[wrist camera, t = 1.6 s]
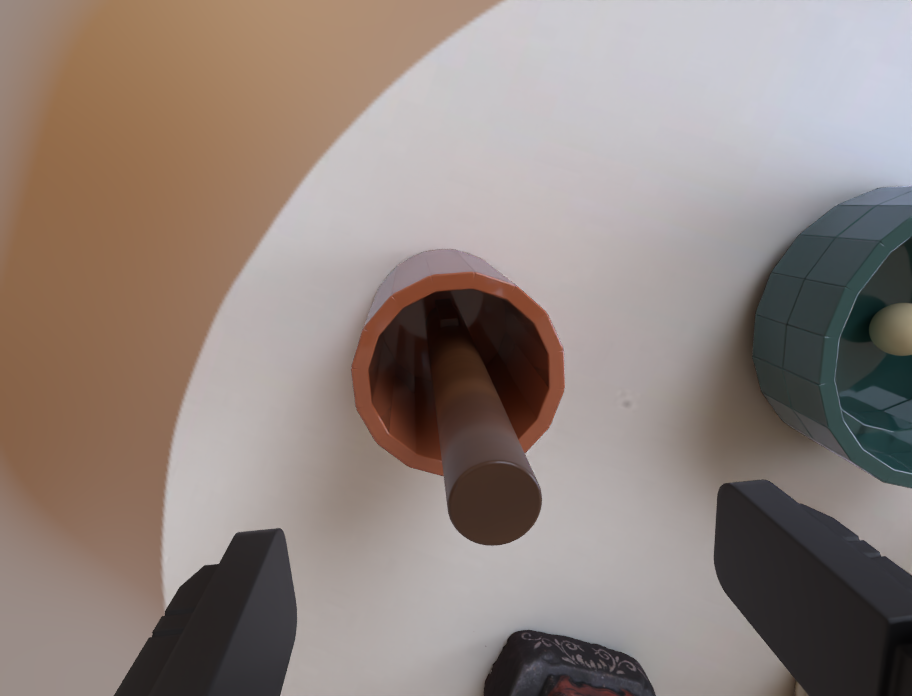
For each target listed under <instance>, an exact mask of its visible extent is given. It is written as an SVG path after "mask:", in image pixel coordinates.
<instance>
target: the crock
mask: <svg viewBox="0 0 912 696" xmlns="http://www.w3.org/2000/svg"><path fill="white" fill-rule="evenodd" d="M438 299H451V302H452V304H453V307H455V308H456V309H457V310H458V311H459V312H460V313H461V315H462V317H463V319H464V321H465V323H466V326H467V328H468V330H469V332H470V334H471V336H472V339H473V341H474V343H475V345H476V347H477V350H478V352H479V354H480V356H481V358H482V361H483V363H484V365H485V367H486V369H487V372H488V374H489V376H490V378H491V380H492V383H493V385H494V387H495V389H496V391H497V394H498V396H499V398H500V400H501V402H502V405H503V407H504V409H505V411H506V413H507V416H508V418H509V420H510V422H511V424H512V427H513V429H514V431H515V433H516V435H517V438H518V440H519V442H520V444H521V446H522V449H523V451H524V453H526V452H527V451H528V450H529V449H530V447H531V446H532V445H533V444H534V443H535V442H536V441H537V440H538V439H539V438H540V437H541V436H542V435H543V434H544V433H545V432H546V430H547V429H548V428H549V427H550V425H551V423H552V420H553V418H554V415H555V413H556V410H557V408H558V405H559V403H560V400H561V397H562V395H563V392H564V388H565V374H564V350H563V346H562V344H561V342H560V339H559V337H558V335H557V333H556V331H555V329H554V326H553V324H552V322H551V320H550V318H549V315H548V314H547V313H546V311H545V310H544V309H543V308H541V307H540V306H539V305H538V304H537V303H536V302H535V301H534V300H533V299H531V298H530V297H529V296H528V295H527V294H526V293H525V292H524V291H522V290H521V289H520V288H519V287H518V286H517V285H515V284H514V283H513V282H512V281H510V280H509V279H508V278H506V277H505V276H504V275H503V274H501V273H500V272H499V271H497V270H496V269H495V268H494V267H492V266H491V265H490V264H488V263H487V262H486V261H485V260H483V259H481V258H479V257H476V256H474V255H471V254H469V253H466V252H462V251H458V250H454V249H438V250H431V251H425V252H422V253H419V254H417V255H415V256H412V257H410V258H409V259H407V260H405V261H404V262H402V263H400V264H399V265H397V266H396V267H395V268H394V270H393V271H392V272H391V273H390V274H389V275H388V276H387V277H386V279H385V280H384V282H383V283H382V284H381V285H380V286H379V288H378V290H377V293H376V295H375V298H374V301H373V303H372V306H371V309H370V311H369V314H368V317H367V319H366V322H365V324H364V327H363V330H362V333H361V336H360V340H359V343H358V346H357V350H356V353H355V356H354V359H353V363H352V369H351V373H352V381H353V389H354V397H355V406H356V408H357V411H358V413H359V415H360V416H361V418H362V420H363V421H364V423H365V425H366V426H367V428H368V430H369V431H370V433H371V435H372V437H373V438H374V440H375V441H376V442H377V444H378V445H380V446H381V447H382V448H384V449H385V450H386V451H388V452H389V453H390V454H392V455H393V456H394V457H396V458H397V459H398V460H400V461H401V462H403V463H404V464H405V465H407V466H409V467H411V468H414V469H418V470H422V471H426V472H429V473H433V474H437V475H441V476H444V474H443V466H442V458H441V449H440V441H439V433H438V425H437V416H436V408H435V400H434V392H433V383H432V375H431V367H430V359H429V350H428V342H427V334H426V325H425V322H426V318H427V315H428V314H429V312H430V311H431V310H432V309H433V308H435V307H436V306H435V300H438Z"/></svg>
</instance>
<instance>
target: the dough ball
mask: <svg viewBox="0 0 912 696" xmlns="http://www.w3.org/2000/svg"><path fill="white" fill-rule="evenodd" d="M869 335H870V338H871V340H872V342H873V343H874V344H875V345H876V346H877V347H878V348H879V349H880V350H882V351H884V352H886V353H888V354H892V355H897V356H908V355H912V304H911V303H896V304H892V305H889V306H886V307H884V308H883V309H881V310H880V311H878V312H877V313H876V314H875V315H874V317H873V318H872V320H871V322H870V325H869Z"/></svg>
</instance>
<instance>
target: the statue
mask: <svg viewBox="0 0 912 696" xmlns="http://www.w3.org/2000/svg"><path fill="white" fill-rule="evenodd" d="M485 647H486V646H485ZM484 696H656V695H655V692H654V689H653V687H652V685H651V683H650V681H649V679H648V677H647V676H646V674H645V672H644V670H643V668H642V667H641V665H640V664H639V663H638V662H637V661H636V660H635V659H634V658H632V657H630V656H628V655H626V654H624V653H622V652H617V651H614V650H611V649H607V648H606V647H603V646H601V645H598V644H590V643H587V642H583V641H580V640H577V639H573V638H570V637H566V636H560V635H551V634H546V633H542V632H536V631H532V630H523V631H518V632H515V633H513V634H512V635H511V636H510V637H509V639H508V643H507V645H506V646H504V647H503V651H502V653H501V654H500V655H499V657H498V660H497V661H496V662H495V663H494V664H493V668H492V672H491V673H490V674H489V675H488V677H487V679H486V681H485V688H484Z"/></svg>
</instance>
